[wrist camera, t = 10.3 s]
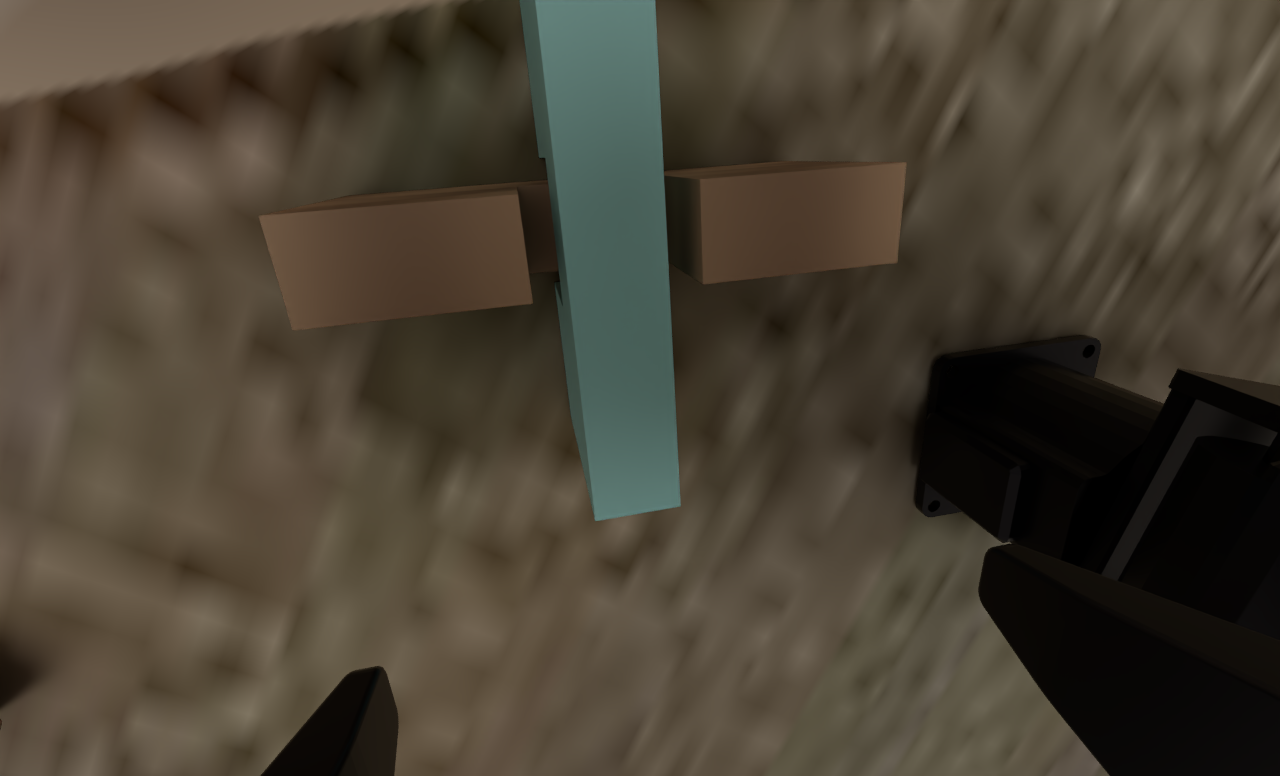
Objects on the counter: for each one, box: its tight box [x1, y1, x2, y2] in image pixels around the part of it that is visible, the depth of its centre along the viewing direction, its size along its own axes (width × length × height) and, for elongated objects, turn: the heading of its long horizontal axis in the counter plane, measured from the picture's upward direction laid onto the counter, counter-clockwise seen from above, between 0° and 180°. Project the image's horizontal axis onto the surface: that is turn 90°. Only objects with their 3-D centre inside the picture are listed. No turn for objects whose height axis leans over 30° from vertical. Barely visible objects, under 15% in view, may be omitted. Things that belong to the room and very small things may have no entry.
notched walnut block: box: [259, 161, 907, 330], centre depth 14 cm, size 12×2×6 cm, turn 94°
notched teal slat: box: [519, 0, 681, 521], centre depth 14 cm, size 12×2×6 cm, turn 4°
